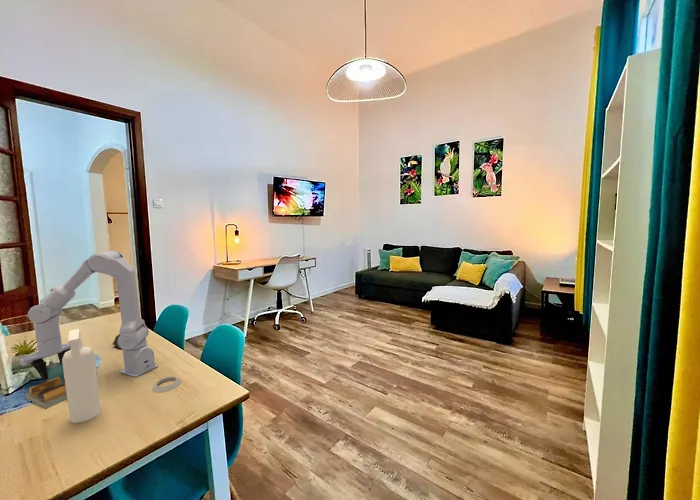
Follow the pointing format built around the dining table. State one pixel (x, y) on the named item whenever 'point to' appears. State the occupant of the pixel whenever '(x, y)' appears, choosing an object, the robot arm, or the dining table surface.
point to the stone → (116, 341)
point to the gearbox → (48, 392)
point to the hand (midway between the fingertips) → (54, 375)
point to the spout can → (54, 370)
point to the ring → (169, 387)
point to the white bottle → (80, 380)
